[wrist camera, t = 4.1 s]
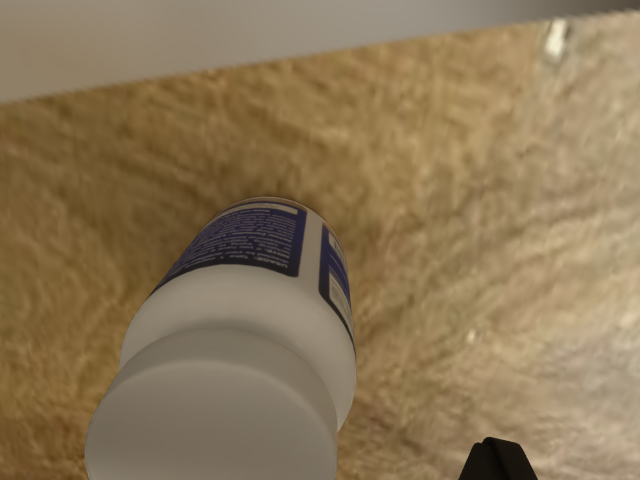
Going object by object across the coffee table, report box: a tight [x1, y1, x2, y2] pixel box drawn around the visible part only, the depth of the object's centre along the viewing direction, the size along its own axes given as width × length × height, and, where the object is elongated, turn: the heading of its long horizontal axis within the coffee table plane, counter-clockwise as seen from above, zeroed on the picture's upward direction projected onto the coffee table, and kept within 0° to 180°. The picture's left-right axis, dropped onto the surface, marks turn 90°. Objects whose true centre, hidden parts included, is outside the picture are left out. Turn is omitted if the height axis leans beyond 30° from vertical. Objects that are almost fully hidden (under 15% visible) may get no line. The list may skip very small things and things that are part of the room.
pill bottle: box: [84, 197, 357, 480], centre depth 13 cm, size 6×6×10 cm
